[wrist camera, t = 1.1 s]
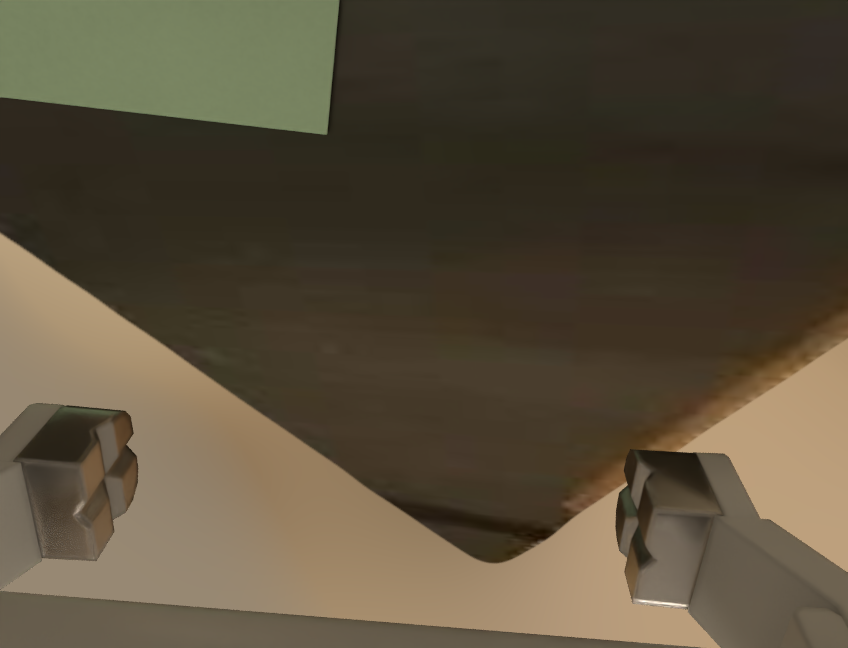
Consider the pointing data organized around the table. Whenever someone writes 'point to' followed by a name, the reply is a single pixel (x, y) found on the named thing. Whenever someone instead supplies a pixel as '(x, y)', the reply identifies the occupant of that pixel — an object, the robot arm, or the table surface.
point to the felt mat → (175, 58)
